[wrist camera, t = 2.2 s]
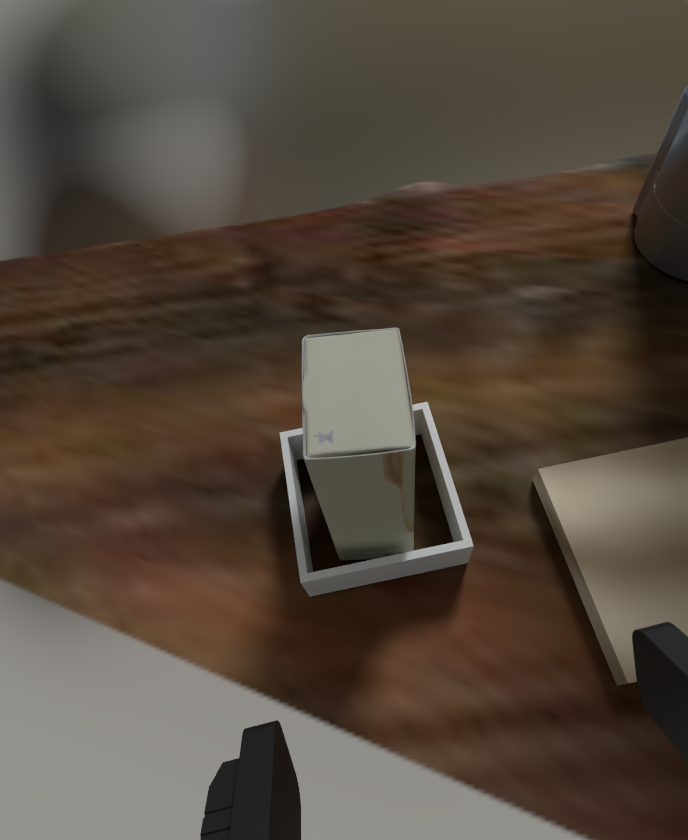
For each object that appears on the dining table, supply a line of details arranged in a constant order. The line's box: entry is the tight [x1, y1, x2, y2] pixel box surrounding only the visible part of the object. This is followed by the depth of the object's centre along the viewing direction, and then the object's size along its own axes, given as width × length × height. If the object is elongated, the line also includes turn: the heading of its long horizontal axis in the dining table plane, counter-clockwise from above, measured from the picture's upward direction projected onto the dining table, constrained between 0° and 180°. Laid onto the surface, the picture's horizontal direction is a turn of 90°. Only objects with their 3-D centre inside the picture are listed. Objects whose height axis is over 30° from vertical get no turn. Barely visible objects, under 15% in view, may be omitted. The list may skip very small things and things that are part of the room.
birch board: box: [533, 438, 688, 686], centre depth 28 cm, size 11×9×2 cm
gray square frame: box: [280, 402, 474, 597], centre depth 30 cm, size 9×9×3 cm
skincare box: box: [302, 328, 416, 560], centre depth 26 cm, size 6×4×12 cm
